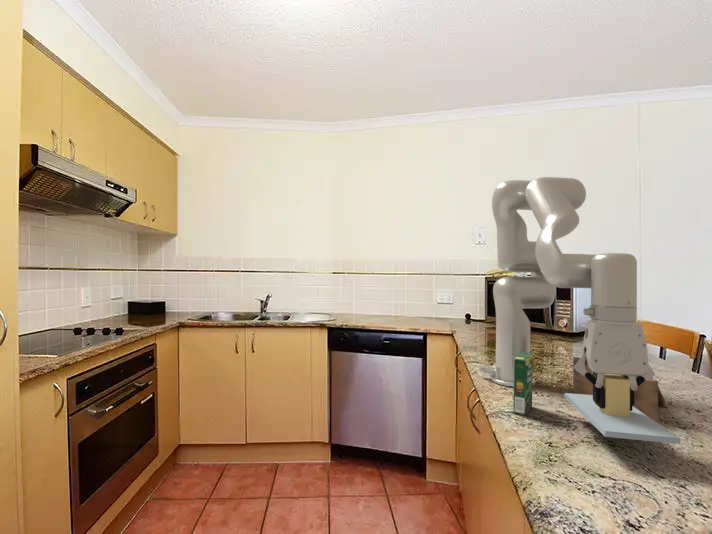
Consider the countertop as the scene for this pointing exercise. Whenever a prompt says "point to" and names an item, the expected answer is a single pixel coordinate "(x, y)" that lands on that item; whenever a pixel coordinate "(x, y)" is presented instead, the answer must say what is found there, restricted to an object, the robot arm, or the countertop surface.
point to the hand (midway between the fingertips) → (613, 406)
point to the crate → (642, 396)
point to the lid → (620, 414)
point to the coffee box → (523, 383)
